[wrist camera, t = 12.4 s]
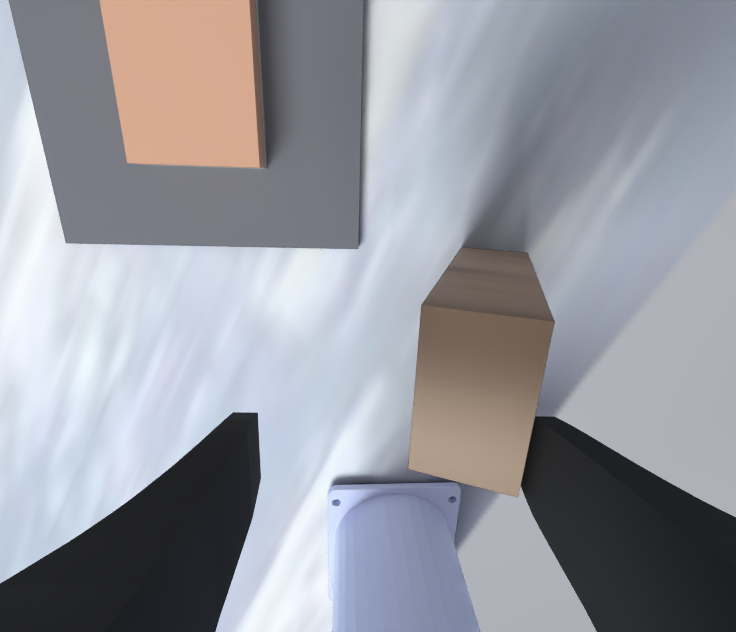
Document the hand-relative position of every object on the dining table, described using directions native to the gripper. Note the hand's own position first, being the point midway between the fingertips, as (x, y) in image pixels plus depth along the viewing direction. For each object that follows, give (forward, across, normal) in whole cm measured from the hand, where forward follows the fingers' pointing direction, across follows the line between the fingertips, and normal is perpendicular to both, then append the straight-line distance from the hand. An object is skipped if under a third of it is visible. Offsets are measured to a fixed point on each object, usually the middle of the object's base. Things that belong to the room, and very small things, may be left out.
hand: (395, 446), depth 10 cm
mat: (+10, +8, -10) cm, 16 cm away
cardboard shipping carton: (+9, -6, -1) cm, 11 cm away
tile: (+9, +7, -7) cm, 13 cm away
